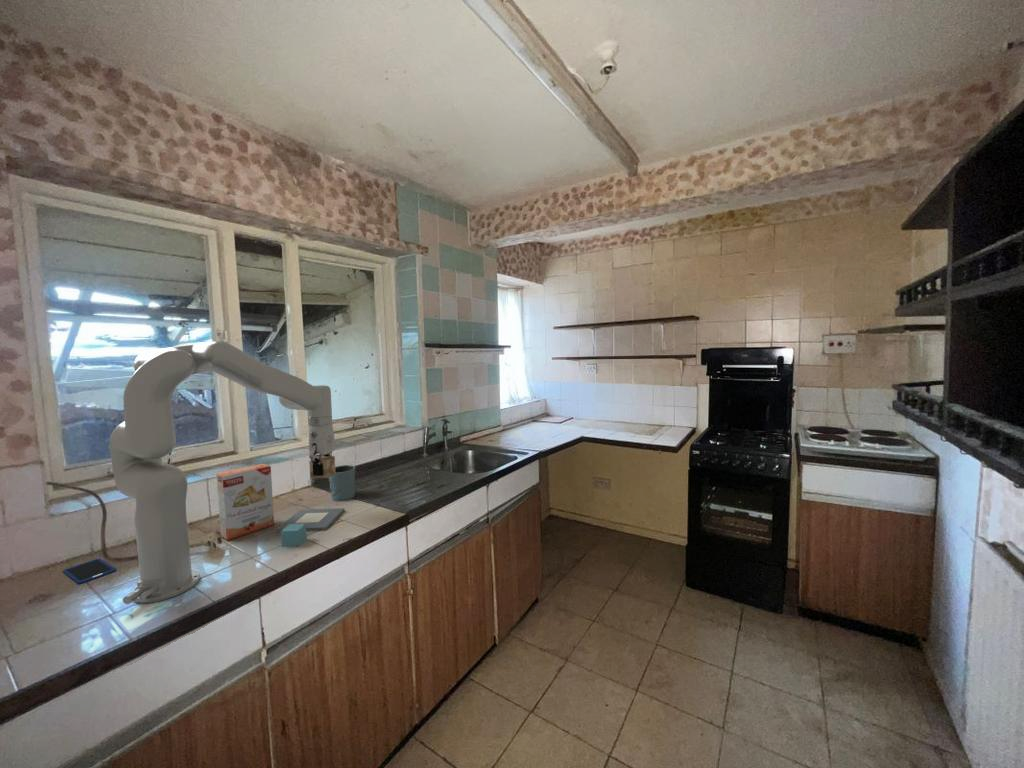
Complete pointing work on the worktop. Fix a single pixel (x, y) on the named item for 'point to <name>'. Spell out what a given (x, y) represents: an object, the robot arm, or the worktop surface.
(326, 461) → the oak cube
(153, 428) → the robot arm
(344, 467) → the blue cup
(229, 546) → the worktop surface
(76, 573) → the cell phone
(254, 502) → the cracker box
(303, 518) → the board
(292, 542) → the teal cube
